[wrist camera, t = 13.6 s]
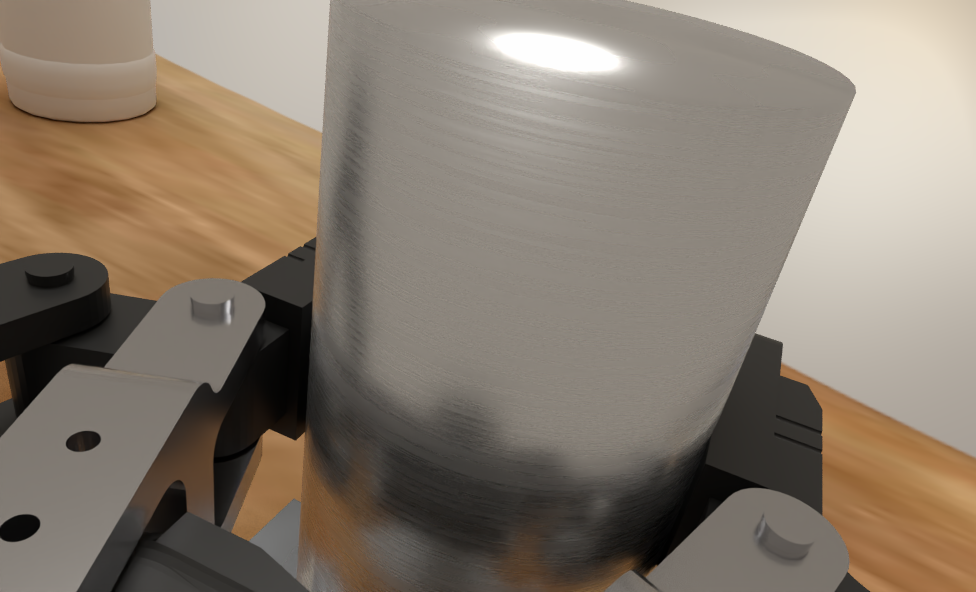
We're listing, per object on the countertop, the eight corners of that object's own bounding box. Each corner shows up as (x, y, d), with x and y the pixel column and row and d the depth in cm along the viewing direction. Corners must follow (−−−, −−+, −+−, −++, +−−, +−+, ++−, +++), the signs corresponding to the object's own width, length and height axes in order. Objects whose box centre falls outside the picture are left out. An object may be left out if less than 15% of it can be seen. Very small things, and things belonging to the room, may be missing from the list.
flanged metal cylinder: (662, 807, 13) (1044, 130, 7) (314, 987, 10) (425, 113, 4) (506, 540, 17) (649, -8, 11) (236, 613, 14) (234, -61, 8)
